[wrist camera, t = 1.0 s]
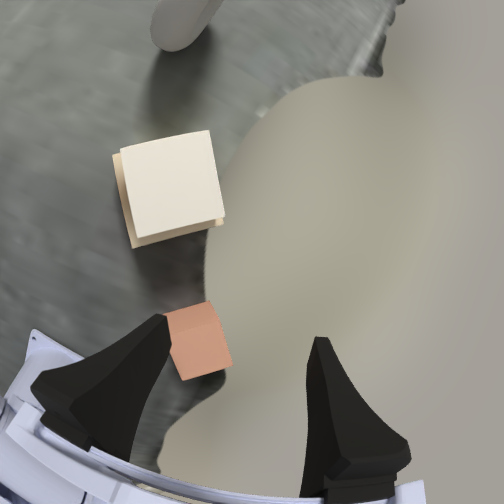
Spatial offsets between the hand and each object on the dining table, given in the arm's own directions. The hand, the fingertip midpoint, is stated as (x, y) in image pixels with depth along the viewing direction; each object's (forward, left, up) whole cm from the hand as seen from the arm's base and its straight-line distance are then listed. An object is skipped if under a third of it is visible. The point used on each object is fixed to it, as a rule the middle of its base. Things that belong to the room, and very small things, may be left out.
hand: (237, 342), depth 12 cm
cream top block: (+5, +6, -9) cm, 12 cm away
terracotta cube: (-5, -2, -12) cm, 13 cm away
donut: (+18, +14, -12) cm, 26 cm away
